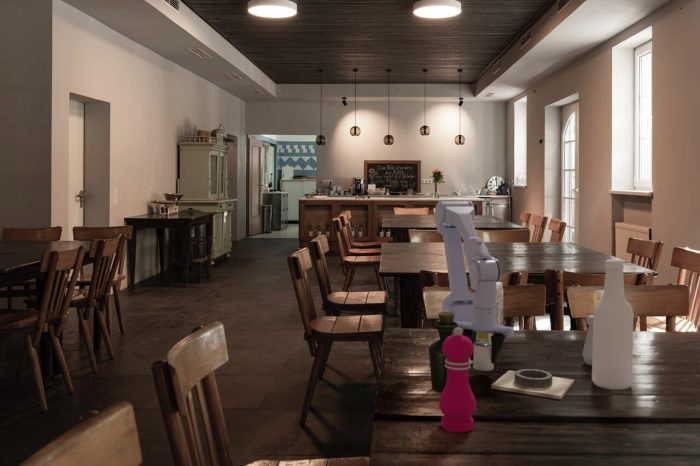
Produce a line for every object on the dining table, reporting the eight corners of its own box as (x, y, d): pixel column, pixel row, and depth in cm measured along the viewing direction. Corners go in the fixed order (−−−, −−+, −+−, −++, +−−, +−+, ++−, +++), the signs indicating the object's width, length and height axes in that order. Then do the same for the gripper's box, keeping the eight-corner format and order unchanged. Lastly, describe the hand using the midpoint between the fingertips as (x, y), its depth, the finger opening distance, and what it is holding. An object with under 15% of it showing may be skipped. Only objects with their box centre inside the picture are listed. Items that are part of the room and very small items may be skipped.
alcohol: (629, 381, 156) (633, 258, 154) (633, 392, 148) (636, 263, 146) (591, 377, 159) (594, 257, 157) (592, 388, 151) (595, 261, 149)
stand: (491, 388, 151) (491, 376, 151) (508, 373, 163) (509, 362, 163) (560, 399, 143) (561, 387, 143) (574, 383, 155) (574, 371, 155)
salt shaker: (607, 367, 168) (608, 318, 167) (584, 366, 170) (585, 317, 169) (603, 361, 174) (604, 314, 173) (580, 360, 175) (581, 313, 174)
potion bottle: (470, 391, 149) (471, 315, 148) (441, 396, 145) (441, 318, 144) (449, 382, 156) (450, 309, 155) (421, 387, 153) (421, 312, 151)
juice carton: (504, 344, 193) (505, 281, 192) (494, 350, 186) (495, 285, 185) (480, 341, 198) (481, 279, 196) (470, 347, 190) (470, 283, 189)
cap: (470, 368, 161) (470, 345, 160) (477, 364, 165) (477, 340, 164) (489, 371, 158) (490, 347, 158) (496, 366, 162) (496, 343, 162)
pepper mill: (435, 421, 130) (435, 323, 129) (470, 419, 131) (471, 323, 130) (443, 434, 123) (444, 331, 122) (480, 433, 124) (481, 331, 122)
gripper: (450, 307, 161) (450, 360, 162) (508, 313, 153) (507, 369, 154) (461, 302, 167) (460, 354, 168) (516, 308, 159) (515, 362, 160)
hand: (483, 360), depth 161 cm, fingers closed on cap, 5 cm apart
